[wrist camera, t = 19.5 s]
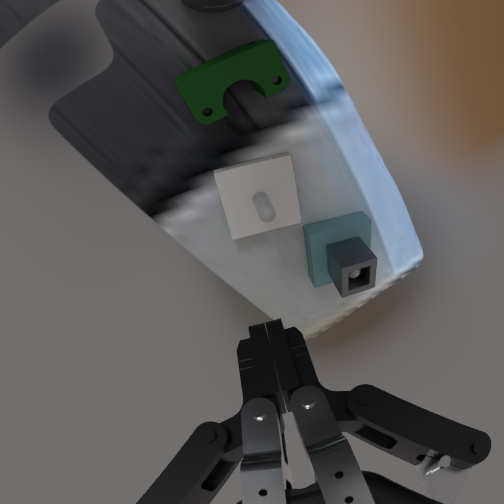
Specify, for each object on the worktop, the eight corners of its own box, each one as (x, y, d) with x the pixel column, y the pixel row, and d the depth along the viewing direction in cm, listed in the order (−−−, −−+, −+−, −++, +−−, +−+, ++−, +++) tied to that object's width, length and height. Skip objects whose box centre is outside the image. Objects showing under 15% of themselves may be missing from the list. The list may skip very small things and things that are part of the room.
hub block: (303, 225, 41) (321, 255, 34) (361, 211, 41) (388, 236, 34) (309, 276, 46) (324, 309, 40) (361, 261, 46) (382, 290, 40)
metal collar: (326, 244, 40) (341, 268, 35) (358, 235, 40) (377, 257, 35) (327, 272, 43) (341, 297, 38) (358, 263, 43) (374, 287, 38)
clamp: (209, 101, 33) (188, 133, 28) (189, 67, 29) (161, 91, 24) (293, 75, 29) (292, 100, 24) (276, 34, 24) (270, 47, 19)
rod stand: (213, 170, 35) (214, 186, 29) (287, 152, 35) (302, 164, 29) (232, 234, 40) (236, 260, 35) (298, 217, 40) (312, 240, 35)
